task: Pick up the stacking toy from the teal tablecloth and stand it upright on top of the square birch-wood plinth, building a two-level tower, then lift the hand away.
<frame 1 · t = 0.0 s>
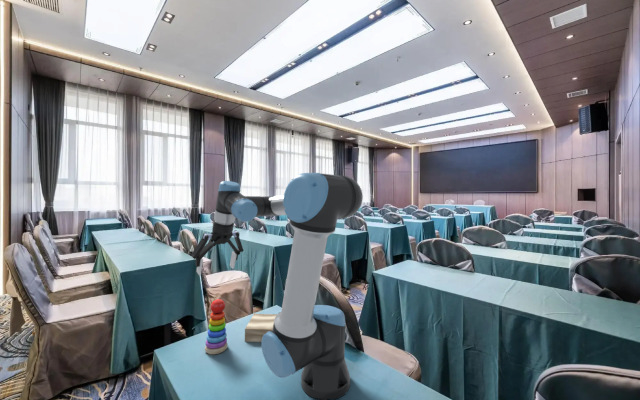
hand: (215, 270, 110), 28 cm above the table, tool tilted 20°, fingers open, 13 cm apart
plinth: (266, 333, 116), on the table
stacking toy: (216, 350, 103), on the table
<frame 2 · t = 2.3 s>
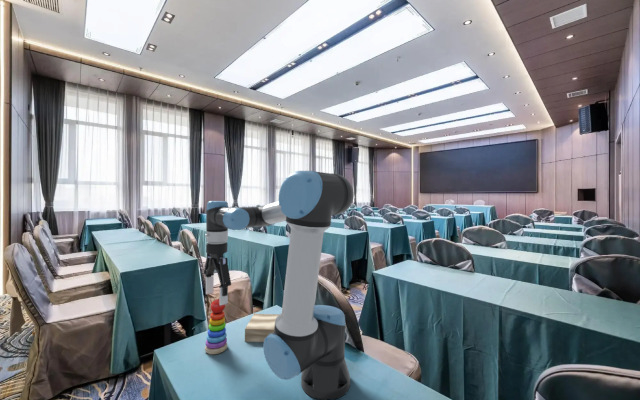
hand: (216, 298, 103), 19 cm above the table, tool pointing down, fingers open, 13 cm apart
nothing on the table moved.
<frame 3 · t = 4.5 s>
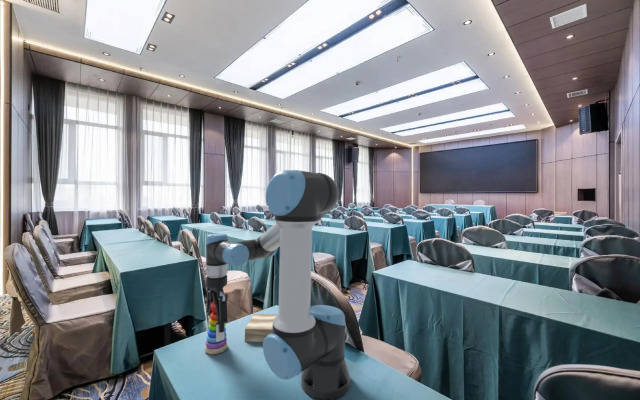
hand: (216, 336, 103), 5 cm above the table, tool pointing down, fingers closed on stacking toy, 7 cm apart
stacking toy: (216, 349, 103), on the table, touching gripper
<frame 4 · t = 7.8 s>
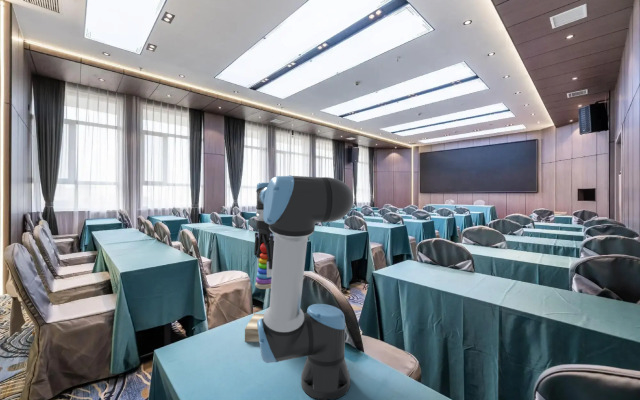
hand: (265, 274, 115), 25 cm above the table, tool pointing down, fingers closed on stacking toy, 7 cm apart
stacking toy: (264, 287, 115), point 20 cm above the table, touching gripper
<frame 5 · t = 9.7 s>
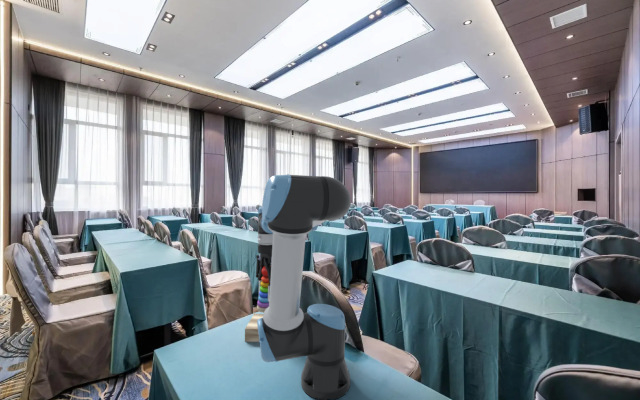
hand: (266, 297, 116), 15 cm above the table, tool pointing down, fingers closed on stacking toy, 7 cm apart
stacking toy: (266, 310, 116), point 10 cm above the table, touching gripper
when the fingers open (11 cm above the table, at t = 11.2 s): stacking toy drops 1 cm, resting on plinth.
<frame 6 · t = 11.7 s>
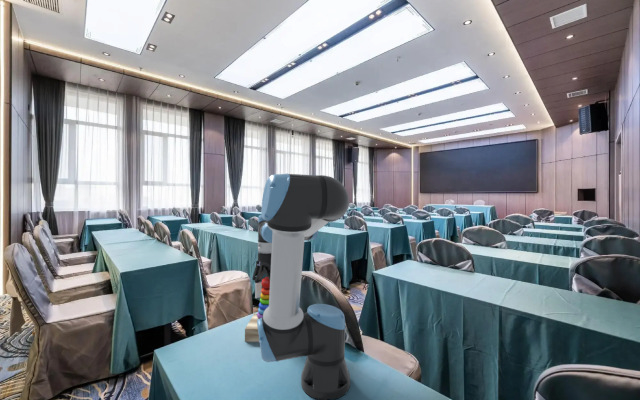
hand: (266, 302, 116), 13 cm above the table, tool pointing down, fingers open, 13 cm apart
stacking toy: (266, 321, 116), point 5 cm above the table, touching plinth
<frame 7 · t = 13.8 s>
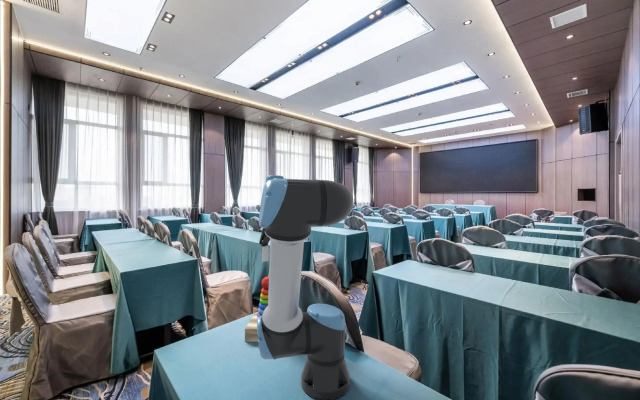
hand: (274, 264, 114), 30 cm above the table, tool pointing down, fingers open, 13 cm apart
nothing on the table moved.
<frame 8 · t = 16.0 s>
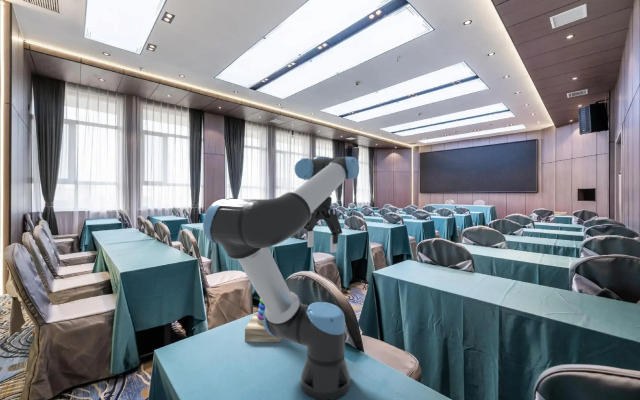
hand: (321, 249, 110), 37 cm above the table, tool pointing down, fingers open, 13 cm apart
nothing on the table moved.
at the end: stacking toy inside the target area on the plinth (0.0 cm from its centre), point 4.8 cm above the plinth's base; stacking toy tilted 0°; the gripper is holding nothing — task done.
